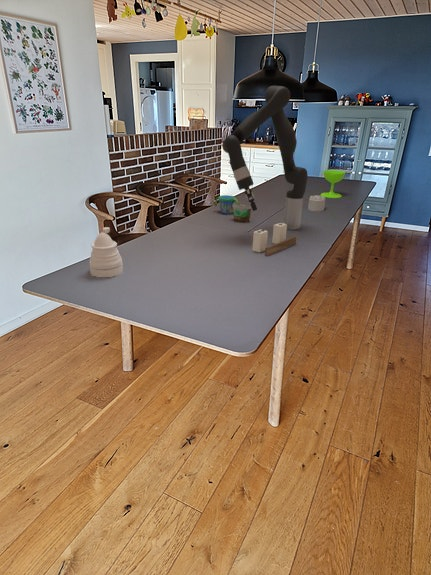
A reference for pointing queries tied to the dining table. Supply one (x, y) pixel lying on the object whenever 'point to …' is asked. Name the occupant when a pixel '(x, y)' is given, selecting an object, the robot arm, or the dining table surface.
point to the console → (280, 246)
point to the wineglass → (333, 177)
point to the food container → (241, 212)
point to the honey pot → (105, 256)
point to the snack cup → (226, 203)
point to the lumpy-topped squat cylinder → (316, 203)
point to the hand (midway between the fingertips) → (255, 209)
